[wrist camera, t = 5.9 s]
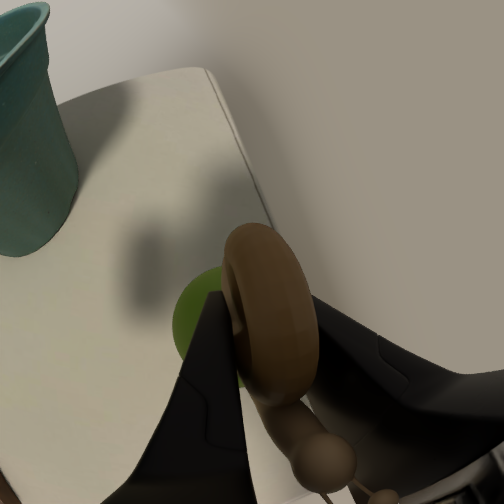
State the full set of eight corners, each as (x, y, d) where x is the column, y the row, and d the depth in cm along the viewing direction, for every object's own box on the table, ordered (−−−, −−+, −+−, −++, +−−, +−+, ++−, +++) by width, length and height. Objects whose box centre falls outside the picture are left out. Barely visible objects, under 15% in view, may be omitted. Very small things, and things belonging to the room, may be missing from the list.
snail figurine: (198, 402, 13) (208, 580, 1) (167, 288, 14) (72, 158, 3) (292, 375, 14) (479, 441, 3) (263, 267, 15) (405, 128, 4)
